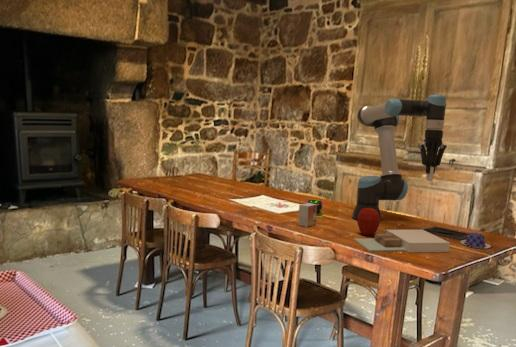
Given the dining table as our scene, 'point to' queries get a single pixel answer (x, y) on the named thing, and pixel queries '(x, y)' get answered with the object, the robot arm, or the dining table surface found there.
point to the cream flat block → (420, 241)
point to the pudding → (475, 241)
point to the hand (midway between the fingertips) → (429, 180)
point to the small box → (307, 214)
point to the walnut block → (387, 240)
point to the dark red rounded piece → (368, 221)
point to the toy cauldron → (319, 206)
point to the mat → (376, 245)
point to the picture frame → (447, 233)
